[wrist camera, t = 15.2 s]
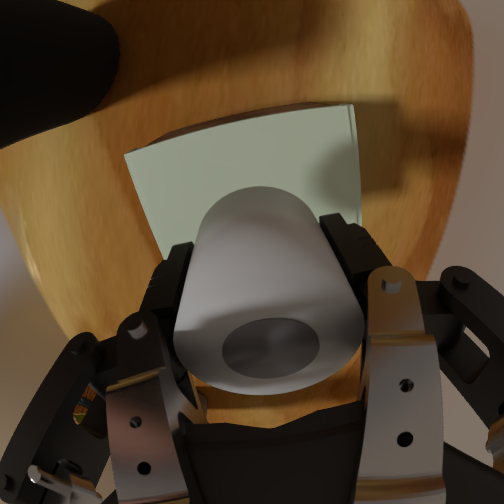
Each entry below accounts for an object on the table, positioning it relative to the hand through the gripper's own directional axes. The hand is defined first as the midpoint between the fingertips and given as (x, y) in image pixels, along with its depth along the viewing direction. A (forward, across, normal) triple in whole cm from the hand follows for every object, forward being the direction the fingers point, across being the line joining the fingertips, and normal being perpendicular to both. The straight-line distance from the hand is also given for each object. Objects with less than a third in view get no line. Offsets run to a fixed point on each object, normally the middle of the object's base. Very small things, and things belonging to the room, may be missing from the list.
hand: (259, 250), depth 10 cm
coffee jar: (+15, +13, -14) cm, 24 cm away
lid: (+8, 0, 0) cm, 8 cm away
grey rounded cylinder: (0, 0, 0) cm, 0 cm away
